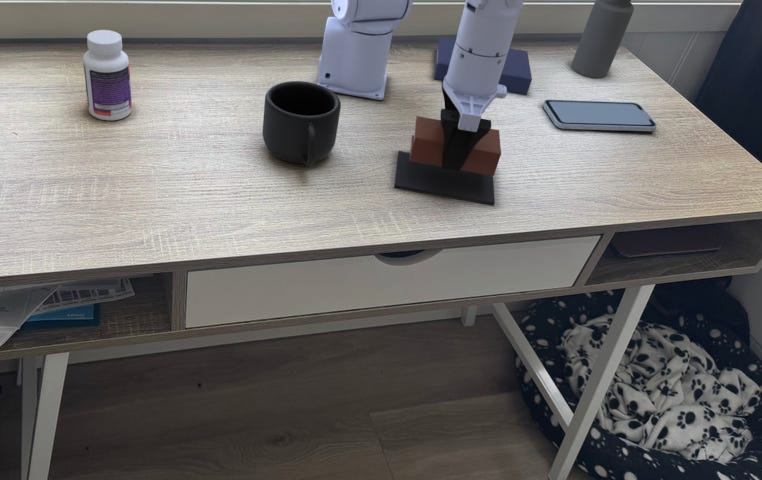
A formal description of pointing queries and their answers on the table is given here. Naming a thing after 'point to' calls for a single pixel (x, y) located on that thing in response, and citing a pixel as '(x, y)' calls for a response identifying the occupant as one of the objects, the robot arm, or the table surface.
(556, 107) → the smartphone
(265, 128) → the mug
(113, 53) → the pill bottle
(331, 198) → the table surface
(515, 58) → the hardcover book
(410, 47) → the table surface
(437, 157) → the block
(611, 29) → the bottle
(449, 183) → the rubber mat
